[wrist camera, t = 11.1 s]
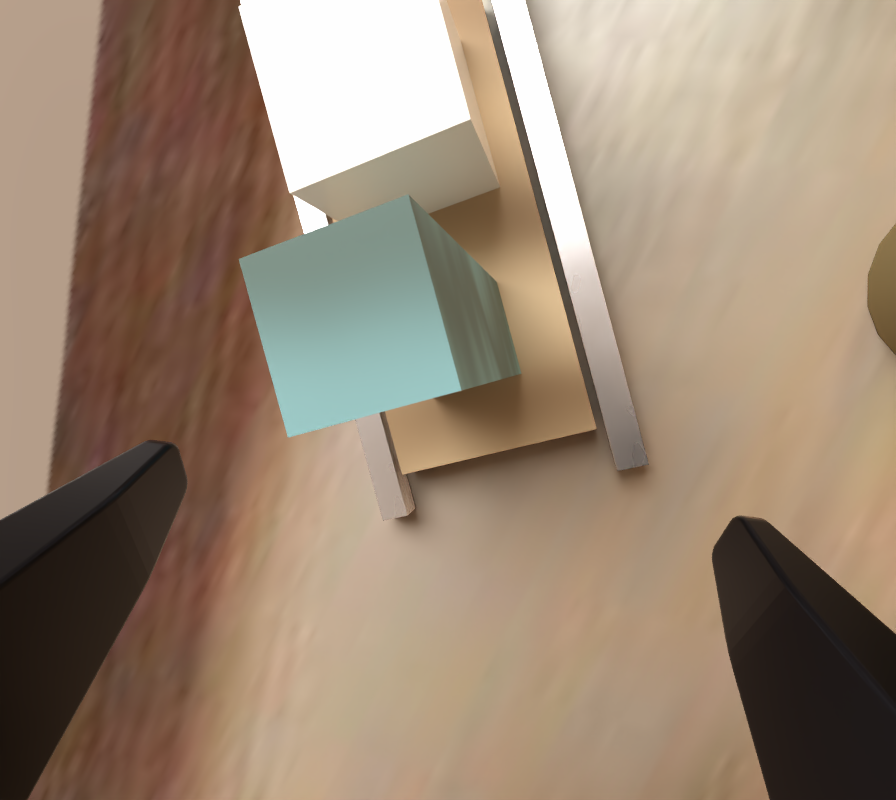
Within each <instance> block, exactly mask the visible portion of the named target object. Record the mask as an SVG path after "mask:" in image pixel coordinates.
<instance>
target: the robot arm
mask: <svg viewBox="0 0 896 800" xmlns="http://www.w3.org/2000/svg"><path fill="white" fill-rule="evenodd" d="M186 489H187V475H186V472H185V469H184V465H183V462H182V458H181V455H180V452H179V449H178V447H177V446H176V445H175V444H174V443H172V442H165V441H157V440H148V441H145V442H143V443H141V444H139V445H137V446H135V447H133V448H132V449H130V450H128V451H126V452H124V453H122V454H121V455H119V456H117V457H115V458H113V459H111V460H110V461H108V462H106V463H104V464H102V465H100V466H98V467H97V468H95V469H93V470H91V471H89V472H87V473H86V474H84V475H82V476H80V477H78V478H76V479H75V480H73V481H71V482H69V483H67V484H65V485H64V486H62V487H60V488H58V489H56V490H54V491H52V492H51V493H49V494H47V495H45V496H43V497H41V498H40V499H38V500H36V501H34V502H32V503H31V504H29V505H27V506H25V507H23V508H21V509H19V510H18V511H16V512H14V513H12V514H10V515H8V516H6V517H5V518H3V519H1V520H0V800H28V798H29V796H30V795H31V793H32V791H33V789H34V787H35V786H36V784H37V782H38V780H39V778H40V776H41V775H42V773H43V771H44V769H45V767H46V766H47V764H48V762H49V760H50V758H51V757H52V755H53V753H54V751H55V749H56V747H57V746H58V744H59V742H60V740H61V738H62V737H63V735H64V733H65V731H66V729H67V727H68V726H69V724H70V722H71V720H72V718H73V717H74V715H75V713H76V711H77V709H78V708H79V706H80V704H81V702H82V700H83V698H84V697H85V695H86V693H87V691H88V689H89V688H90V686H91V684H92V682H93V680H94V678H95V677H96V675H97V673H98V671H99V669H100V668H101V666H102V664H103V662H104V660H105V659H106V657H107V655H108V653H109V651H110V649H111V648H112V646H113V644H114V642H115V640H116V639H117V637H118V635H119V633H120V631H121V629H122V628H123V626H124V624H125V622H126V620H127V619H128V617H129V615H130V613H131V611H132V610H133V608H134V606H135V604H136V602H137V600H138V599H139V597H140V595H141V593H142V591H143V589H144V588H145V586H146V584H147V582H148V580H149V578H150V576H151V574H152V571H153V569H154V567H155V565H156V562H157V560H158V558H159V555H160V553H161V550H162V548H163V546H164V543H165V541H166V538H167V536H168V534H169V531H170V529H171V526H172V524H173V522H174V519H175V517H176V515H177V512H178V510H179V507H180V505H181V503H182V500H183V498H184V495H185V493H186ZM712 562H713V568H714V574H715V580H716V586H717V592H718V597H719V603H720V609H721V615H722V621H723V626H724V632H725V638H726V643H727V648H728V653H729V656H730V660H731V664H732V668H733V672H734V675H735V679H736V682H737V686H738V689H739V693H740V696H741V700H742V703H743V707H744V710H745V714H746V717H747V721H748V725H749V728H750V732H751V735H752V739H753V742H754V746H755V749H756V753H757V756H758V760H759V763H760V767H761V770H762V774H763V777H764V781H765V784H766V788H767V792H768V795H769V799H770V800H896V634H895V633H894V632H893V631H892V630H890V629H889V628H888V627H887V626H886V625H885V624H884V623H883V622H881V621H880V620H879V619H878V618H877V617H876V616H875V615H873V614H872V613H871V612H870V611H869V610H868V609H867V608H865V607H864V606H863V605H862V604H861V603H860V602H859V601H857V600H856V599H855V598H854V597H853V596H852V595H851V594H850V593H848V592H847V591H846V590H845V589H844V588H843V587H842V586H840V585H839V584H838V583H837V582H836V581H835V580H834V579H832V578H831V577H830V576H829V575H828V574H827V573H826V572H824V571H823V570H822V569H821V568H820V567H819V566H818V565H816V564H815V563H814V562H813V561H812V560H811V559H810V558H809V557H807V556H806V555H805V554H804V553H803V552H802V551H801V550H799V549H798V548H797V547H796V546H795V545H794V544H793V543H791V542H790V541H789V540H788V539H787V538H786V537H785V536H783V535H782V534H781V533H780V532H779V531H778V530H777V529H776V528H774V527H773V526H772V525H771V524H770V523H769V522H767V521H766V520H764V519H761V518H755V517H748V516H736V517H735V518H733V519H732V520H731V521H730V523H729V524H728V526H727V527H726V529H725V530H724V532H723V533H722V535H721V537H720V538H719V540H718V541H717V543H716V544H715V546H714V549H713V553H712Z"/></svg>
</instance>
